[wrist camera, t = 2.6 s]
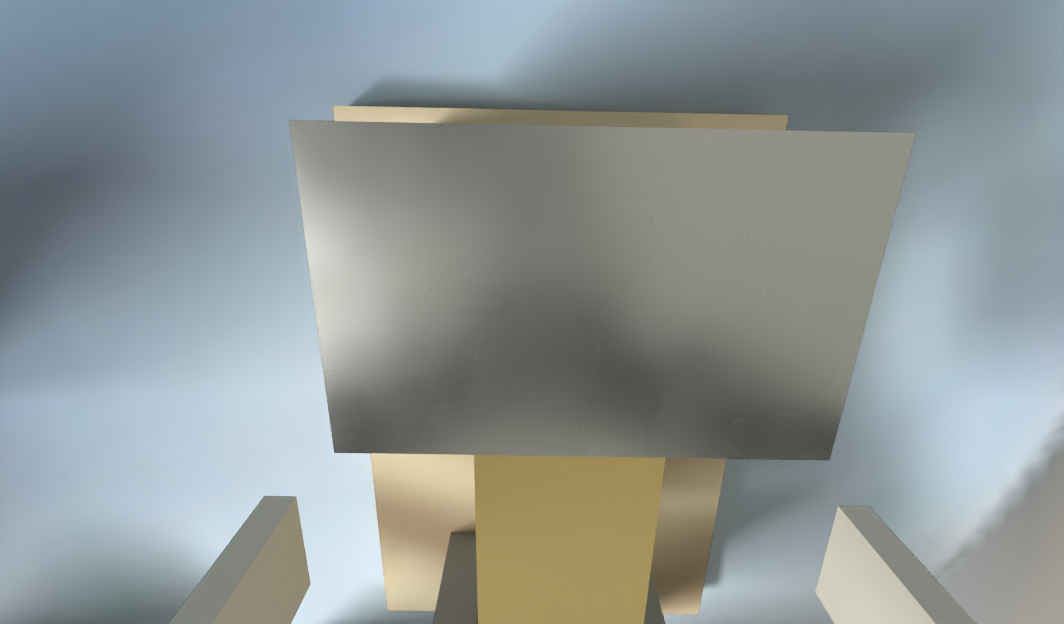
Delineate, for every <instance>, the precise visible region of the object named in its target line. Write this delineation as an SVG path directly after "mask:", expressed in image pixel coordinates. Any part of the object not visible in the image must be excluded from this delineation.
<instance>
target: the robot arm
mask: <svg viewBox="0 0 1064 624" xmlns="http://www.w3.org/2000/svg"><path fill="white" fill-rule="evenodd" d="M309 586H310V579H309V573H308V567H307V560H306V554H305V548H304V542H303V536H302V530H301V524H300V517H299V511H298V505H297V499H296V497H295V496H264V497H263V498H262V500H261V501H260V502H259V504H258V505H257V506H256V508H255V509H254V510H253V512H252V513H251V514H250V516H249V517H248V518H247V520H246V521H245V522H244V524H243V525H242V526H241V528H240V529H239V530H238V532H237V533H236V534H235V536H234V537H233V538H232V540H231V541H230V542H229V544H228V545H227V546H226V548H225V549H224V550H223V552H222V553H221V554H220V556H219V557H218V558H217V560H216V561H215V562H214V564H213V565H212V566H211V568H210V569H209V570H208V572H207V573H206V574H205V576H204V577H203V578H202V580H201V581H200V582H199V584H198V585H197V586H196V588H195V589H194V590H193V592H192V593H191V594H190V596H189V597H188V598H187V600H186V601H185V602H184V604H183V605H182V606H181V608H180V609H179V610H178V612H177V613H176V614H175V616H174V617H173V618H172V620H171V621H170V622H169V624H291V622H292V620H293V618H294V616H295V614H296V612H297V610H298V608H299V606H300V604H301V602H302V600H303V598H304V596H305V594H306V592H307V590H308V588H309ZM815 593H816V595H817V597H818V598H819V600H820V601H821V603H822V605H823V606H824V608H825V609H826V611H827V613H828V614H829V616H830V617H831V619H832V621H833V622H834V624H976V622H975V621H974V620H973V619H972V618H971V617H970V616H969V615H968V614H967V613H966V612H965V611H964V609H963V608H962V607H961V606H960V605H959V604H958V603H957V602H956V601H955V599H954V598H952V596H951V595H950V594H949V593H948V592H947V591H946V590H945V588H944V587H943V586H942V585H941V584H940V583H939V582H938V581H937V580H936V579H935V578H934V576H933V575H932V574H931V573H930V572H929V571H928V570H927V569H926V568H925V567H924V565H923V564H922V563H921V562H920V561H919V560H918V559H917V558H916V557H915V556H914V555H913V553H912V552H911V551H910V550H909V549H908V548H907V547H906V546H905V545H904V544H903V542H902V541H901V540H900V539H899V538H898V537H897V536H896V535H895V534H894V533H893V532H892V530H891V529H890V528H889V527H888V526H887V525H886V524H885V523H884V522H883V521H882V519H881V518H880V517H879V516H878V515H877V514H876V513H875V512H874V511H873V510H872V509H871V507H870V506H838V508H837V512H836V516H835V519H834V523H833V527H832V531H831V534H830V538H829V542H828V546H827V549H826V553H825V557H824V561H823V564H822V568H821V572H820V576H819V579H818V583H817V587H816V591H815Z"/></svg>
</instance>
